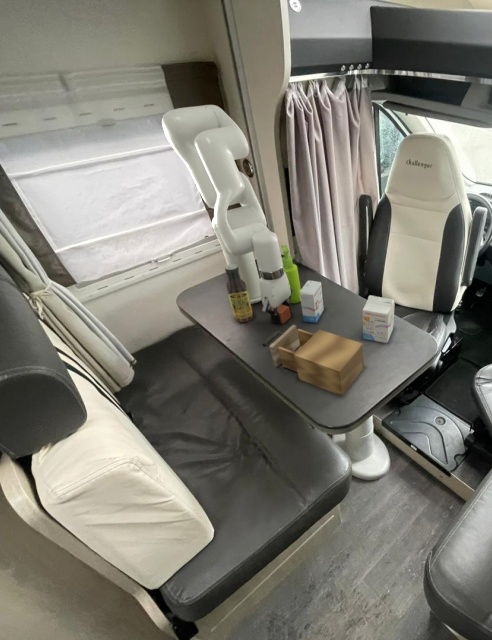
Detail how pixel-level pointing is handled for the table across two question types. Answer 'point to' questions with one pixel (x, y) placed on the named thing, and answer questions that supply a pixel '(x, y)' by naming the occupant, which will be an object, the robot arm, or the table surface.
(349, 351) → the cabinet
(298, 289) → the soap dispenser
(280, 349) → the drawer
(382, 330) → the ink box
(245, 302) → the sauce bottle
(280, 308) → the block
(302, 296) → the ink box
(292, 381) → the table surface
